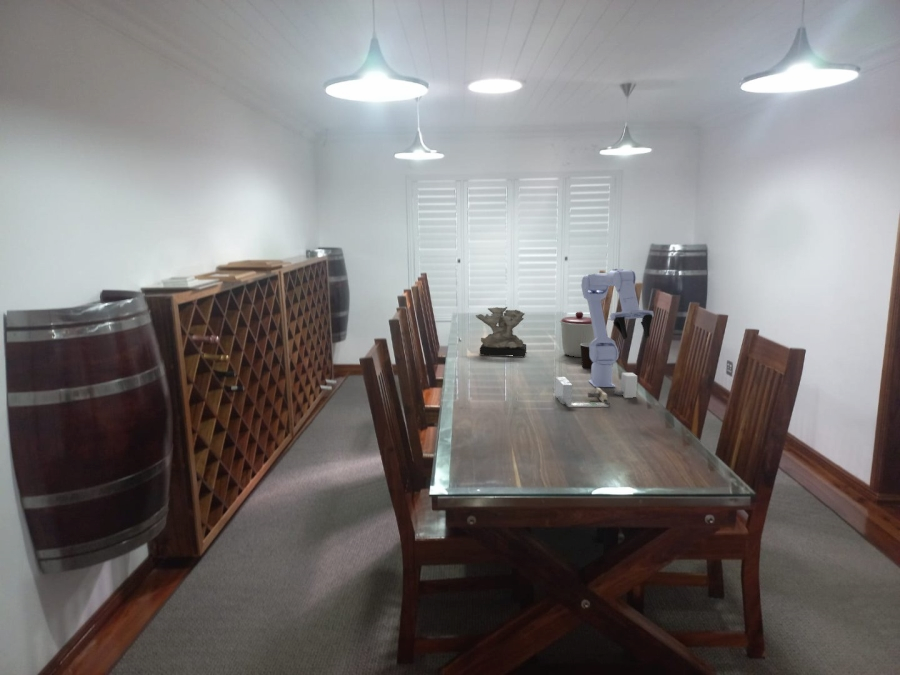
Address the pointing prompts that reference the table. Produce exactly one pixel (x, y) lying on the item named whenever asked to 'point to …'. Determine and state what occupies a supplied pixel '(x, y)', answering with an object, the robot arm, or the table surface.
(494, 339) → the coral
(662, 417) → the table surface
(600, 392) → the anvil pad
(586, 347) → the coffee mug
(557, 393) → the frame
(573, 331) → the canister
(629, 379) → the block
